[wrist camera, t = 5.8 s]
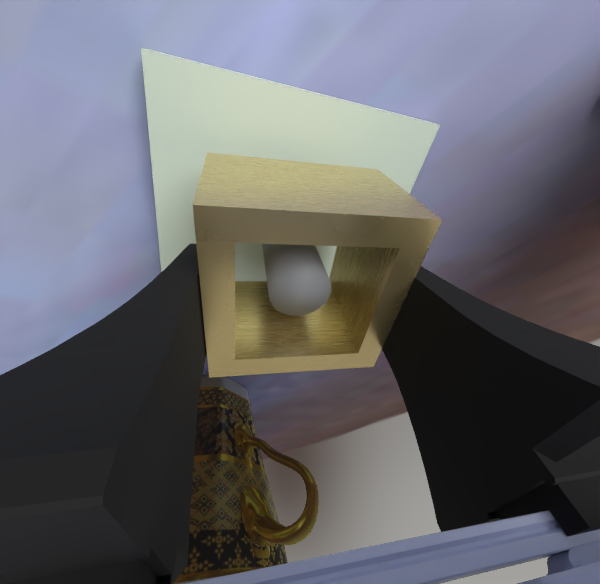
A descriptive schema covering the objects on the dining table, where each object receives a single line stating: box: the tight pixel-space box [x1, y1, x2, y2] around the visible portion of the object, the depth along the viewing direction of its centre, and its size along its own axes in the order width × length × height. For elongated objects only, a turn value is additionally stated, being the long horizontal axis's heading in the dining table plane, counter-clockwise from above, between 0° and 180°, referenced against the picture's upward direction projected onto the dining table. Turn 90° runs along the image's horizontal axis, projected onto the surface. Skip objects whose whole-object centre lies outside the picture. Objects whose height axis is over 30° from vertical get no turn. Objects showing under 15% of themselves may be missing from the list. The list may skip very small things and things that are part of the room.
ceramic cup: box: [173, 375, 318, 584], centre depth 16 cm, size 13×10×10 cm
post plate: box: [141, 48, 440, 316], centre depth 11 cm, size 10×10×5 cm
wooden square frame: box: [193, 152, 442, 378], centre depth 9 cm, size 6×6×4 cm
